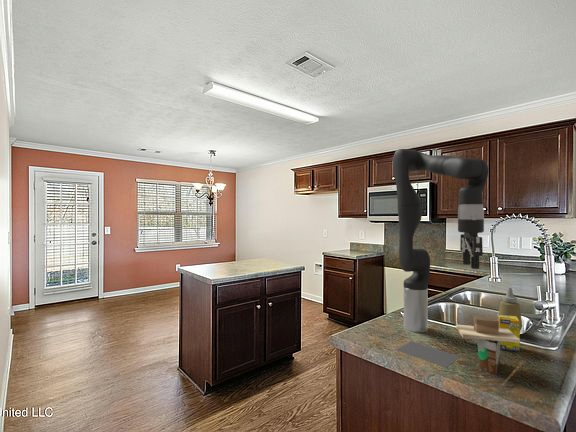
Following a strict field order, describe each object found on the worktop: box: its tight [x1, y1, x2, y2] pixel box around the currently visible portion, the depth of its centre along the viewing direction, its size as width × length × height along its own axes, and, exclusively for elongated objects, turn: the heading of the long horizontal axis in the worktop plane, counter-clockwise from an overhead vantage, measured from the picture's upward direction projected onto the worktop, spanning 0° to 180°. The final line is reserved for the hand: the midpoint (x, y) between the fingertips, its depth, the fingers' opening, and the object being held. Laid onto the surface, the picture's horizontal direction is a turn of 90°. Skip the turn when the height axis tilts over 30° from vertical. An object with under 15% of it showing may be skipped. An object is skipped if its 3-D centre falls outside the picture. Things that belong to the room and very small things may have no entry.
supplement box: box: [496, 313, 521, 353], centre depth 112 cm, size 6×6×11 cm
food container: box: [474, 339, 501, 376], centre depth 98 cm, size 12×6×10 cm, turn 140°
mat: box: [395, 340, 461, 368], centre depth 107 cm, size 11×17×1 cm, turn 41°
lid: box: [455, 316, 521, 344], centre depth 98 cm, size 9×15×5 cm, turn 74°
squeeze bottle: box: [498, 287, 523, 331], centre depth 126 cm, size 8×8×18 cm
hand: (470, 266), depth 105 cm, fingers open, 8 cm apart
